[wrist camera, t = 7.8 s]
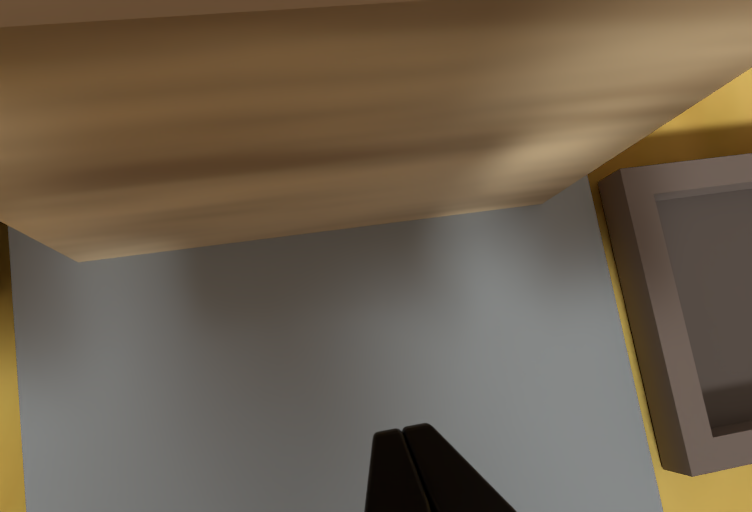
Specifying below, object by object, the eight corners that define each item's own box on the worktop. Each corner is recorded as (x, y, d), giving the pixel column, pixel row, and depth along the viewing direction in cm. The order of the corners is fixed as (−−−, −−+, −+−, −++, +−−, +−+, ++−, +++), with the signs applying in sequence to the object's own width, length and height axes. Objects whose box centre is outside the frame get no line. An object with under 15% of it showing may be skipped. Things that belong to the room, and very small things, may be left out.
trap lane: (938, 506, 17) (1071, 533, 14) (-424, 841, 12) (-658, 997, 9) (717, -242, 21) (785, -339, 18) (-375, -250, 16) (-525, -391, 13)
